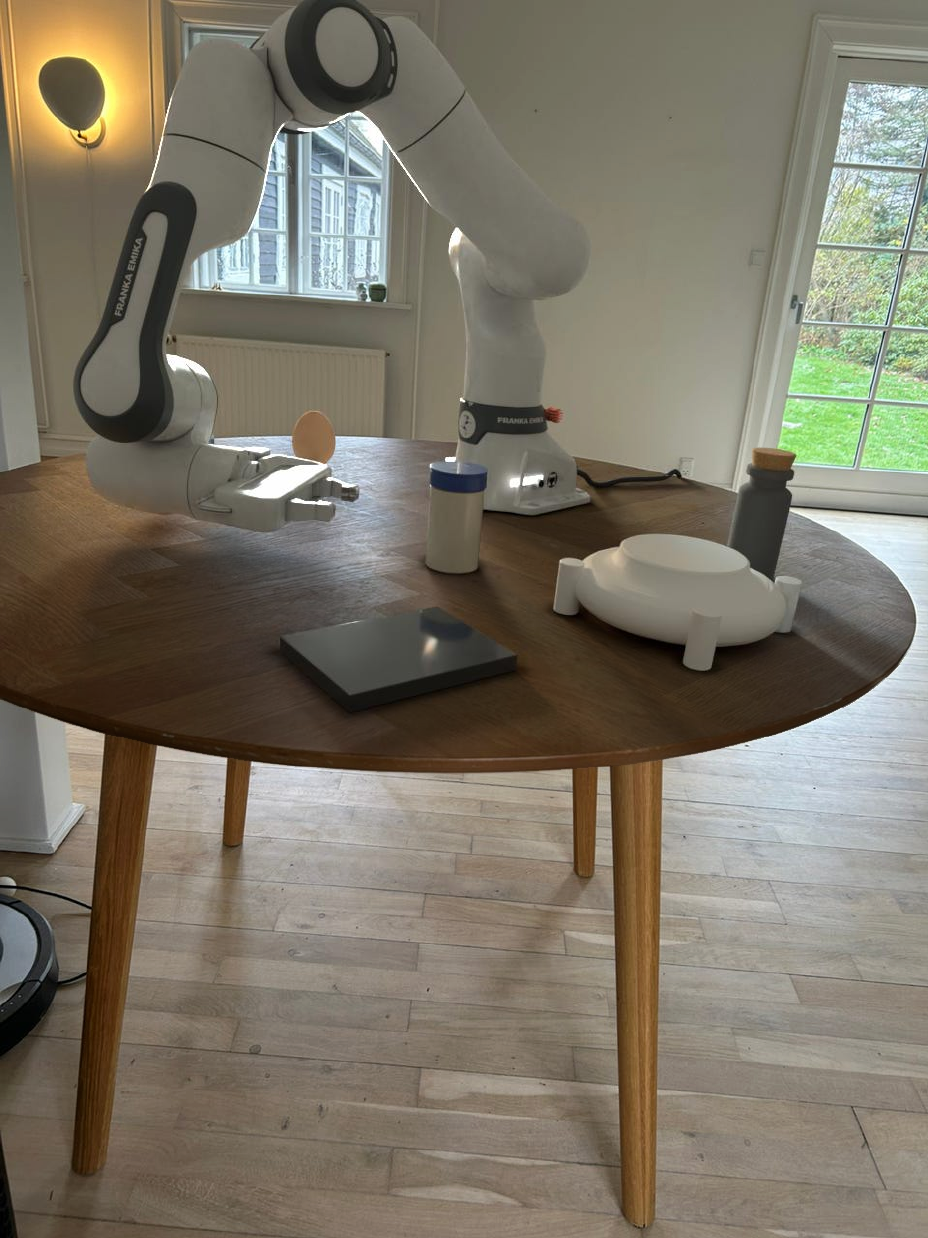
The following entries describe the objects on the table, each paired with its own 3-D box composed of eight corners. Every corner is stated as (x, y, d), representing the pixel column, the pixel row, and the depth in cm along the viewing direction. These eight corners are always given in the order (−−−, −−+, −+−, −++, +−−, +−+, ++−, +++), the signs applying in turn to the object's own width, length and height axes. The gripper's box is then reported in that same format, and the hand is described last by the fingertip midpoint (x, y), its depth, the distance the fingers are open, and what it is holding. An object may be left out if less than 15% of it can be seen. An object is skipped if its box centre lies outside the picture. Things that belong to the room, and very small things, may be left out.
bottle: (746, 589, 97) (775, 457, 91) (710, 572, 101) (736, 446, 96) (783, 584, 99) (813, 456, 94) (746, 568, 104) (773, 445, 98)
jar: (457, 553, 100) (464, 464, 96) (488, 569, 96) (497, 476, 92) (414, 559, 97) (420, 467, 93) (445, 576, 92) (452, 480, 88)
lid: (464, 476, 97) (466, 459, 96) (499, 489, 92) (500, 472, 92) (417, 480, 93) (418, 462, 93) (450, 494, 89) (452, 476, 88)
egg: (311, 474, 131) (312, 415, 128) (282, 465, 135) (282, 408, 131) (343, 469, 136) (345, 412, 133) (315, 461, 140) (315, 405, 136)
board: (436, 620, 81) (437, 605, 80) (516, 670, 72) (518, 654, 71) (279, 651, 71) (279, 635, 71) (349, 713, 63) (349, 695, 62)
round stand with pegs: (835, 681, 75) (856, 606, 72) (564, 659, 75) (574, 583, 72) (754, 588, 97) (768, 528, 94) (545, 570, 97) (552, 509, 94)
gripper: (187, 476, 86) (318, 495, 85) (263, 444, 105) (371, 459, 104) (187, 535, 89) (315, 555, 87) (262, 494, 108) (368, 509, 106)
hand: (346, 502), depth 96 cm, fingers open, 8 cm apart
